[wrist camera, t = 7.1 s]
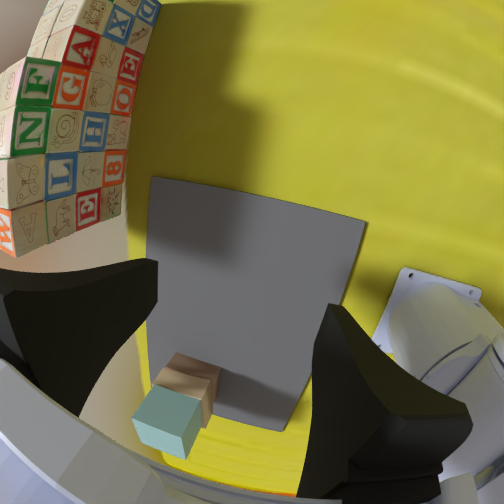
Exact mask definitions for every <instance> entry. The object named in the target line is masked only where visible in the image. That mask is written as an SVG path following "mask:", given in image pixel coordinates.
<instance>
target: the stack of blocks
mask: <svg viewBox="0 0 504 504" xmlns="http://www.w3.org/2000/svg"><path fill="white" fill-rule="evenodd" d="M160 7H161V3H160V2H159V1H157V0H49V2H48V4H47V6H46V8H45V10H44V13H43V16H42V17H41V19H40V21H39V24H38V26H37V29H36V31H35V34H34V37H33V40H32V42H31V47H30V49H29V51H28V55H27V56H26V57H25V58H23V59H22V60H20V61H19V62H17V63H15V64H14V65H12V66H11V67H9V68H8V69H7V70H6V71H4V72H3V73H1V74H0V249H1V250H3V251H4V252H6V253H8V254H9V255H11V256H13V257H15V258H18V257H20V256H22V255H24V254H26V253H28V252H30V251H32V250H34V249H37V248H39V247H41V246H43V245H45V244H50V243H52V242H54V241H56V240H59V239H61V238H63V237H66V236H69V235H70V234H73V233H74V232H77V231H79V230H81V229H84V228H86V227H89V226H91V225H94V224H96V223H98V222H102V221H105V220H108V219H110V218H113V217H116V216H118V215H120V214H121V199H122V183H123V181H124V170H125V160H126V149H127V144H128V139H129V132H130V125H131V119H132V118H131V113H132V107H133V102H134V98H135V93H136V88H137V82H138V77H139V74H140V70H141V65H142V62H143V56H144V55H145V53H146V50H147V46H148V43H149V39H150V36H151V33H152V30H153V26H154V24H155V21H156V18H157V15H158V12H159V9H160Z"/></svg>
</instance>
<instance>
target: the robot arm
mask: <svg viewBox="0 0 504 504" xmlns="http://www.w3.org/2000/svg"><path fill="white" fill-rule="evenodd" d="M410 273H413V275H412V276H411V277H409V274H410ZM470 290H471V292H470ZM469 292H470V293H469ZM481 294H482V290H481V289H480V288H478V287H475V286H471V285H468V284H464V283H461V282H458V281H454V280H451V279H447V278H444V277H440V276H437V275H433V274H430V273H426V272H422V271H419V270H415V269H412V268H408V267H404V268H402V269H401V271H400V273H399V275H398V278H397V281H396V283H395V286H394V288H393V291H392V293H391V296H390V298H389V301H388V303H387V305H386V308H385V310H384V312H383V314H382V317H381V319H380V321H379V323H378V325H377V328H376V330H375V332H374V334H373V336H372V338H370V337H369V336H368V335H367V334H366V333H365V331H364V330H363V329H362V328H361V327H360V325H359V324H358V323H357V322H356V321H355V319H354V318H353V317H352V316H351V314H350V313H349V312H348V311H347V310H346V309H345V308H344V307H343V306H341V305H336V304H331V303H328V305H327V308H326V311H325V314H324V317H323V320H322V322H321V325H320V328H319V331H318V333H317V336H316V339H315V341H314V346H313V355H312V420H311V427H310V434H309V441H308V447H307V452H306V458H305V462H304V467H303V471H302V476H301V480H300V484H299V488H298V491H297V495H296V497H287V496H279V495H272V494H266V493H260V492H255V491H249V490H245V489H240V488H236V487H231V486H227V485H223V484H220V483H216V482H212V481H209V480H206V479H202V478H199V477H196V476H193V475H189V474H187V473H184V472H181V471H178V470H175V469H173V468H170V467H167V466H165V465H163V464H160V463H158V462H155V461H153V460H151V459H148V458H146V457H144V456H142V455H140V454H138V453H136V452H133V451H131V450H129V449H127V448H125V447H124V446H122V445H120V444H119V443H117V442H116V441H114V440H112V439H111V438H109V437H108V436H106V435H105V434H103V433H102V432H100V431H99V430H97V429H96V428H94V427H92V426H90V425H89V424H87V423H86V422H84V421H83V420H81V419H80V418H79V415H80V413H81V411H82V408H83V406H84V404H85V402H86V400H87V398H88V396H89V394H90V392H91V390H92V388H93V387H94V385H95V383H96V382H97V380H98V379H99V377H100V375H101V373H102V372H103V370H104V369H105V367H106V366H107V364H108V363H109V361H110V360H111V359H112V357H113V356H114V354H115V353H116V352H117V351H118V350H119V348H120V347H121V346H122V345H123V344H124V343H125V342H126V341H127V339H129V337H130V336H131V335H132V334H133V333H134V332H135V331H136V330H137V329H138V328H139V327H140V325H141V324H142V323H143V322H144V321H145V320H146V319H147V317H148V316H149V315H150V313H151V312H152V310H153V309H154V307H155V305H156V304H157V302H158V261H156V260H152V259H148V258H140V259H134V260H129V261H125V262H120V263H115V264H111V265H107V266H101V267H96V268H92V269H86V270H80V271H71V272H60V273H31V272H20V271H13V270H6V269H1V268H0V504H504V328H503V327H502V326H501V325H500V324H499V322H498V321H497V320H496V319H495V318H494V317H493V316H492V315H491V314H490V312H489V311H488V310H487V309H486V308H485V307H484V306H483V305H482V304H481V303H480V302H479V299H480V297H481ZM378 345H381V346H379V347H378ZM384 352H386V353H392V354H393V355H394V358H395V361H396V363H395V362H394V361H393V360H392V359H391V358H390V357H389V356H387V355H386V354H385V353H384Z"/></svg>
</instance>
